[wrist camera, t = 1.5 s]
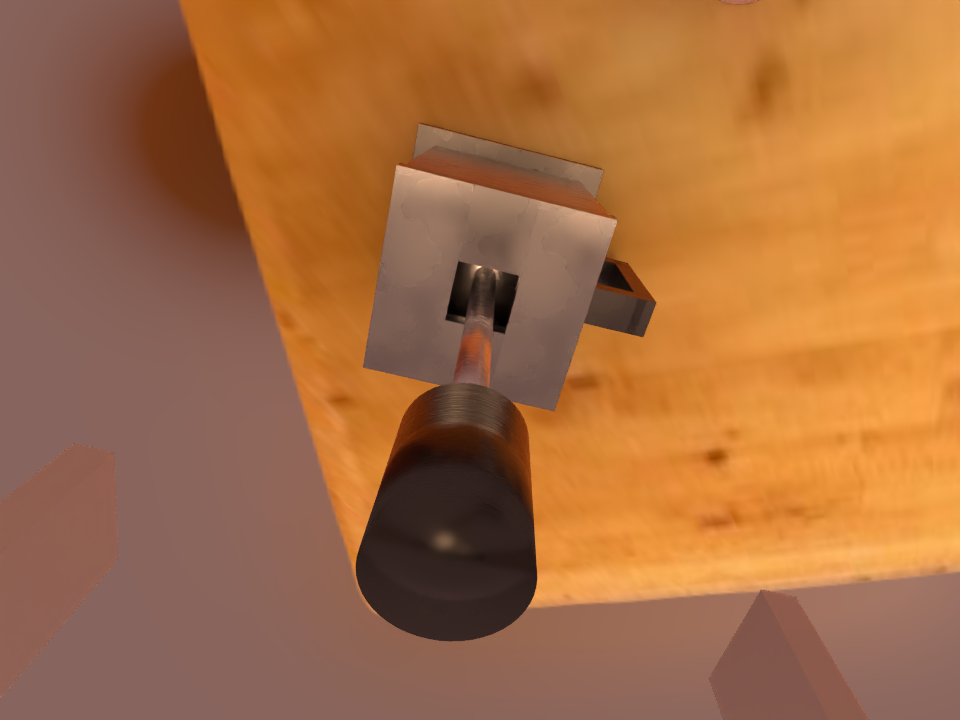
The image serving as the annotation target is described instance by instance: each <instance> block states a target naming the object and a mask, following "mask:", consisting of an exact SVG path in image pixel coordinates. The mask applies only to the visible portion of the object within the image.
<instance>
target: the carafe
mask: <svg viewBox="0 0 960 720" xmlns="http://www.w3.org/2000/svg"><path fill="white" fill-rule="evenodd" d="M603 173H604V170H602V169H600V168H596V167H592V166H588V165H584V164H580V163H576V162H572V161H568V160H565V159H561V158H557V157H553V156H549V155H545V154H541V153H537V152H533V151H529V150H525V149H521V148H517V147H513V146H510V145H506V144H502V143H498V142H494V141H490V140H486V139H482V138H478V137H474V136H470V135H466V134H462V133H458V132H455V131H451V130H447V129H443V128H439V127H435V126H431V125H427V124H423V123H419V126H418V131H417V137H416V143H415V148H414V154H413V160H411V161H410V162H408V163H407V164H404V163H399V164H397V166H396V172H395V178H394V184H393V190H392V196H391V202H390V208H389V214H388V220H387V226H386V232H385V238H384V244H383V250H382V256H381V262H380V268H379V274H378V280H377V286H376V292H375V298H374V304H373V310H372V316H371V322H370V328H369V334H368V340H367V346H366V352H365V358H364V364H363V367H364V368H368V369H372V370H377V371H381V372H385V373H390V374H394V375H399V376H403V377H407V378H412V379H416V380H420V381H425V382H429V383H433V384H438V385H445V384H450V383H453V380H454V375H455V369H456V364H457V359H458V354H459V349H460V344H461V339H462V333H463V328H464V323H465V317H461V316H457V315H453V314H448V313H447V310H448V306H449V301H450V297H451V292H452V288H453V283H454V279H455V274H456V270H457V265H458V261H460V262H465V263H469V264H473V265H477V266H481V267H485V268H489V269H493V270H498V271H502V272H506V273H510V274H514V275H518V276H519V278H518V282H517V285H516V289H515V293H514V296H513V300H512V304H511V307H510V311H509V315H508V318H507V322H506V326H505V327H503V326H499V325H495V324H493V334H492V349H491V364H490V379H489V388H490V389H493V390H495V391H497V392H499V393H500V394H502V395H503V396H505V397H506V398H507V399H509V400H510V401H512V402H516V403H521V404H525V405H529V406H534V407H538V408H542V409H547V410H551V411H555V408H556V405H557V402H558V399H559V396H560V393H561V390H562V387H563V384H564V381H565V378H566V375H567V372H568V369H569V366H570V363H571V360H572V357H573V354H574V351H575V348H576V345H577V342H578V339H579V336H580V333H581V330H582V327H583V324H584V323H586V324H590V325H594V326H599V327H603V328H607V329H611V330H615V331H620V332H624V333H628V334H632V335H636V336H640V337H643V336H644V334H645V331H646V328H647V326H648V323H649V321H650V318H651V315H652V313H653V310H654V308H655V305H656V302H655V300H654V299H653V297H652V296H651V295H650V293H649V292H648V291H647V289H646V288H645V286H644V285H643V284H642V282H641V281H640V279H639V278H638V277H637V275H636V274H635V273H634V271H633V270H632V268H631V267H630V266H629V264H628V263H625V262H621V261H617V260H613V259H609V258H605V257H606V254H607V251H608V248H609V245H610V242H611V239H612V236H613V233H614V230H615V227H616V224H617V221H618V220H617V219H616V218H615V217H614V216H612V215H609V214H608V213H607V212H606V211H605V210H604V209H603V207H602V206H601V205H600V204H599V203H598V202H597V200H596V199H595V198H596V195H597V192H598V189H599V185H600V182H601V179H602V176H603Z"/></svg>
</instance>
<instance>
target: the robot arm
mask: <svg viewBox="0 0 960 720" xmlns="http://www.w3.org/2000/svg"><path fill="white" fill-rule="evenodd" d="M114 455H115V453H114V452H112V451H107V450H102V449H97V448H93V447H88V446H83V445H79V444H73V445H71V446H70V447H69V448H68V449H67V450H65V451H64V452H62V453H61V454H60V455H59V456H57V457H56V458H55V459H54V460H52V461H51V462H50V463H49V464H47V465H46V466H45V467H44V468H42V469H41V470H40V471H39V472H37V473H36V474H35V475H34V476H32V477H31V478H30V479H29V480H27V481H26V482H25V483H23V484H22V485H21V486H20V487H18V488H17V489H16V490H15V491H13V492H12V493H11V494H10V495H8V496H7V497H6V498H5V499H3V500H2V501H1V502H0V699H1V697H2V696H3V695H4V694H5V693H6V691H7V690H8V689H9V688H10V687H11V686H12V684H13V683H14V682H15V681H16V679H17V678H18V677H19V676H20V675H21V674H22V673H23V671H24V670H25V669H26V668H27V667H28V665H29V664H30V663H31V662H32V661H33V659H34V658H35V657H36V656H37V655H38V654H39V652H40V651H41V650H42V649H43V647H44V646H45V645H46V644H47V643H48V642H49V641H50V639H51V638H52V637H53V636H54V635H55V633H56V632H57V631H58V630H59V629H60V628H61V626H62V625H63V624H64V623H65V621H66V620H67V619H68V618H69V617H70V615H71V614H72V613H73V612H74V611H75V610H76V609H77V607H78V606H79V605H80V604H81V603H82V601H83V600H84V599H85V598H86V597H87V595H88V594H89V593H90V592H91V591H92V590H93V588H94V587H95V586H96V585H97V584H98V582H99V581H100V580H101V579H102V578H103V577H104V575H105V574H106V573H107V572H108V571H109V569H110V568H111V567H112V566H113V565H114V564H115V562H116V561H117V560H118V545H117V514H116V486H115V456H114ZM709 681H710V683H711V686H712V689H713V692H714V695H715V697H716V700H717V703H718V706H719V709H720V711H721V714H722V717H723V720H868V718H867V716H866V715H865V713H864V711H863V710H862V708H861V706H860V704H859V703H858V701H857V699H856V698H855V696H854V694H853V692H852V691H851V689H850V687H849V686H848V684H847V682H846V681H845V679H844V677H843V676H842V674H841V672H840V671H839V669H838V667H837V665H836V664H835V662H834V660H833V659H832V657H831V655H830V654H829V652H828V650H827V648H826V647H825V645H824V643H823V642H822V640H821V639H820V637H819V635H818V633H817V632H816V630H815V628H814V626H813V625H812V623H811V621H810V620H809V618H808V616H807V614H806V613H805V611H804V609H803V608H802V606H801V604H800V603H799V601H798V599H797V598H796V597H794V596H789V595H785V594H780V593H775V592H770V591H766V590H761V591H760V592H759V594H758V596H757V597H756V599H755V601H754V603H753V604H752V606H751V608H750V609H749V611H748V613H747V615H746V616H745V618H744V619H743V621H742V623H741V625H740V626H739V628H738V630H737V631H736V633H735V635H734V636H733V638H732V640H731V642H730V643H729V645H728V647H727V649H726V650H725V652H724V653H723V655H722V657H721V659H720V660H719V662H718V664H717V665H716V667H715V669H714V671H713V672H712V674H711V676H710V677H709Z"/></svg>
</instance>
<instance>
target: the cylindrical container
mask: <svg viewBox="0 0 960 720" xmlns="http://www.w3.org/2000/svg"><path fill="white" fill-rule="evenodd" d="M720 1H722V2H725V3H731V4H747V3H752V2H755V1H759V0H720Z"/></svg>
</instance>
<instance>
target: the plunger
mask: <svg viewBox="0 0 960 720" xmlns="http://www.w3.org/2000/svg"><path fill="white" fill-rule="evenodd" d="M518 278H519V276H518V275H514V274H510V273H506V272H502V271H498V270H493V269H489V268H485V267H481V266H477V265H473V264H469V263H465V262H460V261H458V265H457V270H456V274H455V279H454V283H453V288H452V292H451V297H450V301H449V306H448V310H447V313H448V314H453V315H457V316H461V317H465V323H464V328H463V333H462V339H461V344H460V349H459V354H458V359H457V364H456V369H455V375H454V380H453V383H450V384H445V385H441V386H438V387H435V388H433V389H431V390H429V391H427V392H425V393H424V394H422V395H420V396H419V397H418V398H417V399H416V400H415V401H414V402H413V403H412V404H411V405H410V406H409V408H408V409H407V411H406V412H405V414H404V416H403V418H402V421H401V424H400V427H399V430H398V433H397V436H396V439H395V442H394V445H393V448H392V451H391V454H390V457H389V460H388V463H387V466H386V469H385V472H384V475H383V478H382V481H381V484H380V488H379V491H378V494H377V497H376V500H375V503H374V506H373V509H372V512H371V515H370V518H369V521H368V524H367V527H366V530H365V533H364V536H363V539H362V542H361V545H360V548H359V551H358V555H357V560H356V576H357V580H358V584H359V587H360V589H361V592H362V594H363V595H364V597H365V599H366V600H367V602H368V603H369V604H370V606H371V607H372V608H373V609H374V610H375V611H376V612H377V613H378V614H379V615H380V616H381V617H382V618H384V619H385V620H386V621H388V622H389V623H391V624H392V625H394V626H396V627H397V628H399V629H401V630H404V631H406V632H408V633H411V634H413V635H416V636H420V637H424V638H428V639H433V640H439V641H465V640H473V639H477V638H481V637H485V636H488V635H491V634H493V633H496V632H498V631H500V630H502V629H504V628H505V627H507V626H509V625H510V624H512V623H513V622H514V621H515V620H516V619H517V618H519V616H520V615H522V613H523V612H524V611H525V610H526V608H527V607H528V606H529V604H530V602H531V600H532V598H533V596H534V593H535V589H536V584H537V567H536V550H535V534H534V517H533V501H532V484H531V468H530V451H529V436H528V430H527V426H526V423H525V420H524V418H523V416H522V415H521V413H520V411H519V410H518V409H517V408H516V406H515V405H514V404H513V403H512V402H511V401H510V400H509V399H507V398H506V397H505V396H503V395H502V394H500V393H499V392H497V391H495V390H493V389H490V388H489V379H490V364H491V349H492V334H493V324H495V325H499V326H503V327H505V326H506V322H507V318H508V315H509V311H510V307H511V304H512V300H513V296H514V293H515V289H516V285H517V282H518Z"/></svg>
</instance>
